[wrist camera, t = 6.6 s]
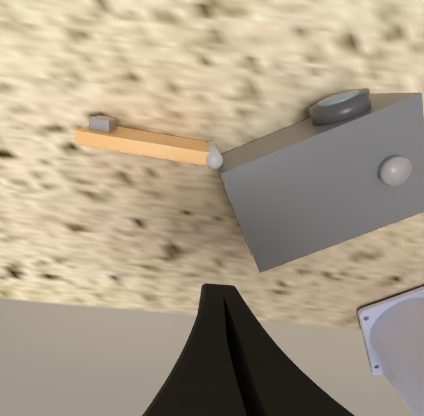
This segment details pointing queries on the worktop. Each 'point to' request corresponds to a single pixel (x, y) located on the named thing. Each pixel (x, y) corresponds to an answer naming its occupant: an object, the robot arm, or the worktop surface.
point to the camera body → (328, 175)
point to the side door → (146, 143)
